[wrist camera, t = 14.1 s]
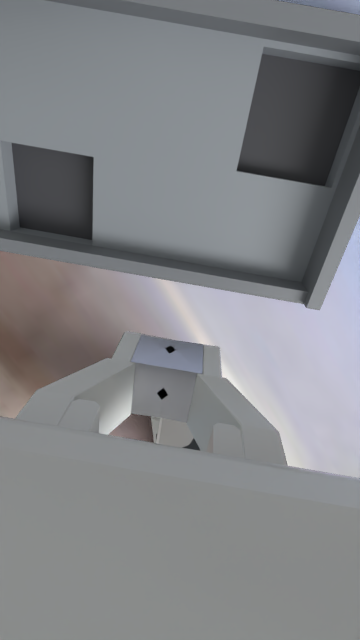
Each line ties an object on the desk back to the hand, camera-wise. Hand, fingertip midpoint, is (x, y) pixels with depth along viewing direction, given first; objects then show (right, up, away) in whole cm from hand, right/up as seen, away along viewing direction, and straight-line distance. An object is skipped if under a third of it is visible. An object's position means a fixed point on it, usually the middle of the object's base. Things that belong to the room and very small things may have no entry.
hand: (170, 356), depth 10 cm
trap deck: (-8, +20, +24) cm, 33 cm away
